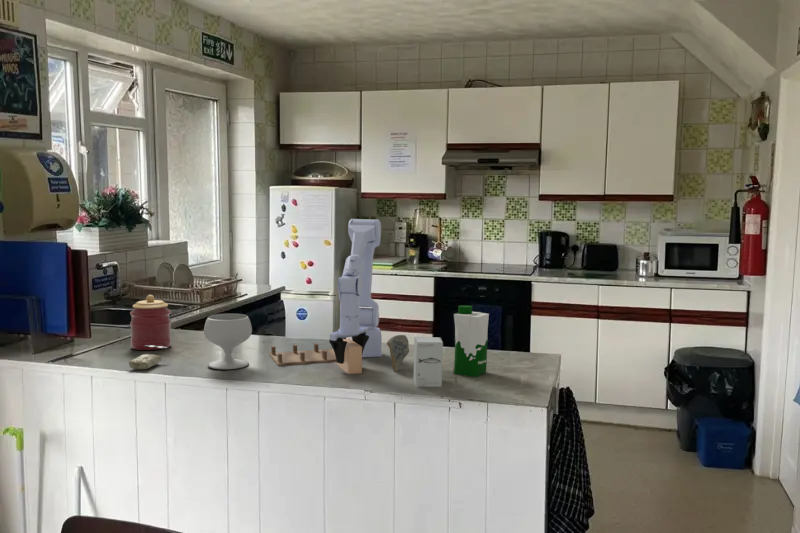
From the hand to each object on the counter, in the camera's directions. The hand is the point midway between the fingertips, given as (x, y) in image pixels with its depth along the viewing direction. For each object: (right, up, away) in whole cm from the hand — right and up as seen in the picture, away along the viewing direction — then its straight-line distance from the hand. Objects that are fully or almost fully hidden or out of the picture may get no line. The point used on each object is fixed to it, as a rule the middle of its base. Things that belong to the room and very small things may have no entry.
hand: (349, 360), depth 206 cm
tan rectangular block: (0, -3, 0) cm, 3 cm away
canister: (-69, +1, +27) cm, 74 cm away
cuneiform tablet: (-60, +1, +7) cm, 60 cm away
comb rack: (-14, -1, +14) cm, 19 cm away
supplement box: (+23, -5, -15) cm, 28 cm away
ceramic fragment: (+15, -3, +1) cm, 15 cm away
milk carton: (+36, -4, -4) cm, 36 cm away
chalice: (-37, -2, +2) cm, 37 cm away
